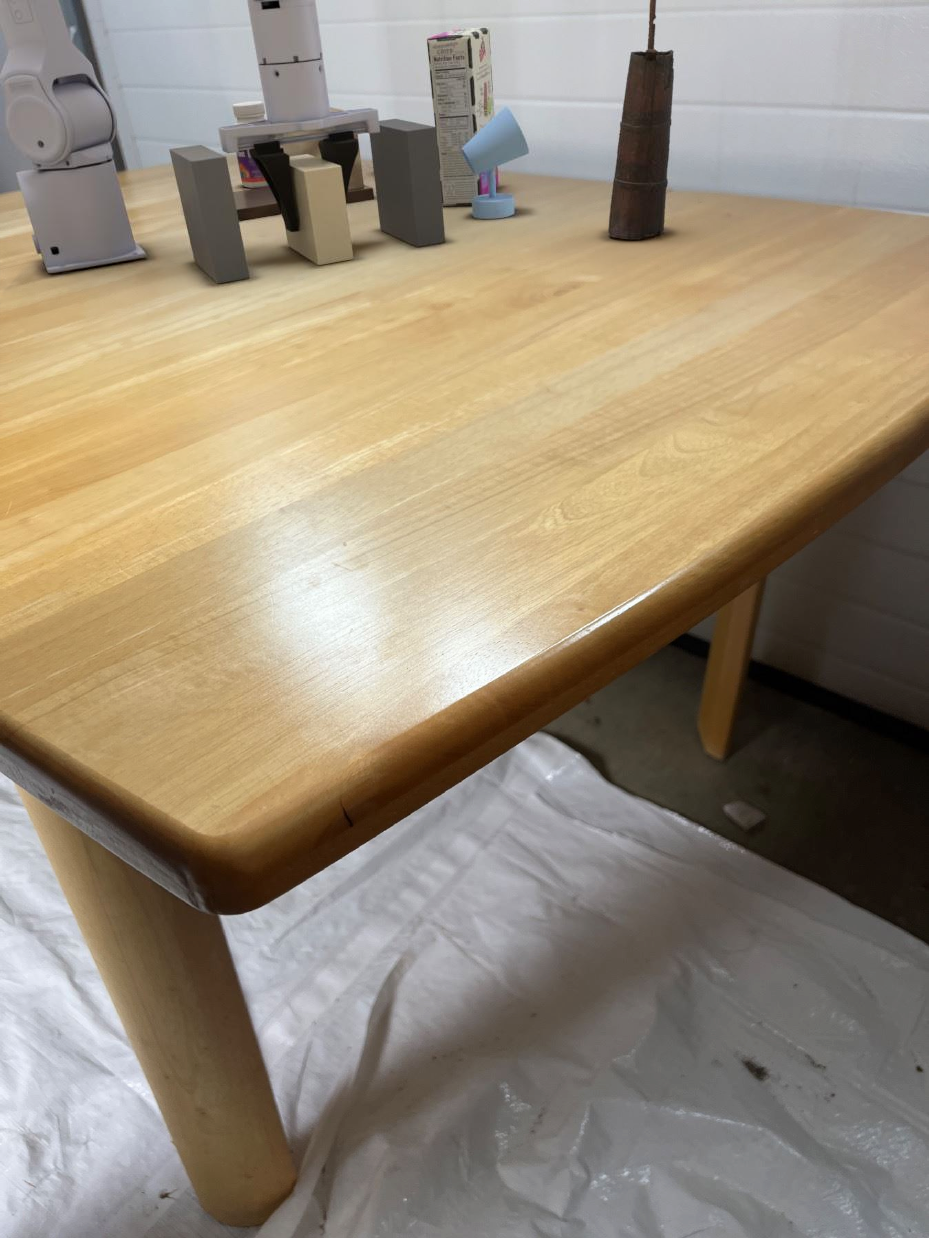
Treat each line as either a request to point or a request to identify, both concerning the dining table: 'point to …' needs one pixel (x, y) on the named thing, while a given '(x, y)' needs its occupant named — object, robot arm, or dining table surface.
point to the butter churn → (643, 144)
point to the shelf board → (270, 206)
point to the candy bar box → (460, 107)
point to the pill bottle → (247, 167)
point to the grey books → (399, 179)
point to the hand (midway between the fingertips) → (315, 226)
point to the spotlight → (494, 161)
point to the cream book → (319, 211)
